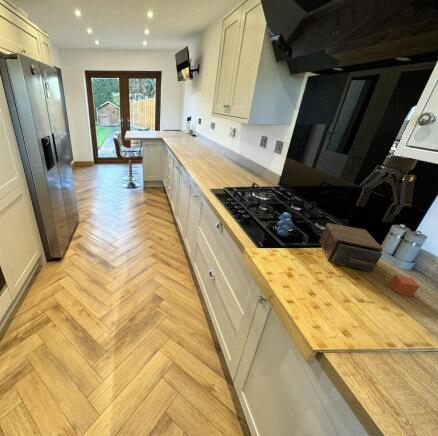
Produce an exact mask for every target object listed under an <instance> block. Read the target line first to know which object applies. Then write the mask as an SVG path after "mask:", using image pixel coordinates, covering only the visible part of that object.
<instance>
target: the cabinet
mask: <svg viewBox="0 0 438 436" xmlns="http://www.w3.org/2000/svg"><path fill="white" fill-rule="evenodd" d="M319 242H320V243H321V246H320V248H321V250H322V249H323V250H324V252H325V254H326V256H325V258H326V257H327V258H326V260H327V259H328V260H330V261H329V262H331V260H332V257H333V255H334V253H335V251H336V249H337V247H338V245H339V243H340V242H341V243H346V244H351V245H355V246H360V247H365V248H370V249H375V250H376V251H378V252H381V253H382V252H383V250H384V248H383V247H382V245H380V244H379V243H378V241H376V240H375V239H374V237H373V236H372V235H371V234H370V233H369V232H368V230H366V229H365V228H364V229H363V228H357V227H352V226H347V225H341V224H336V223H330V222H326V224H325V226H324V229H323V231H322V233H321V236H320V238H319V240H318V243H319ZM320 243H319V244H320ZM323 250H322V251H323ZM324 252H323V253H324ZM325 254H324V255H325ZM328 260H327V261H328Z"/></svg>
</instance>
